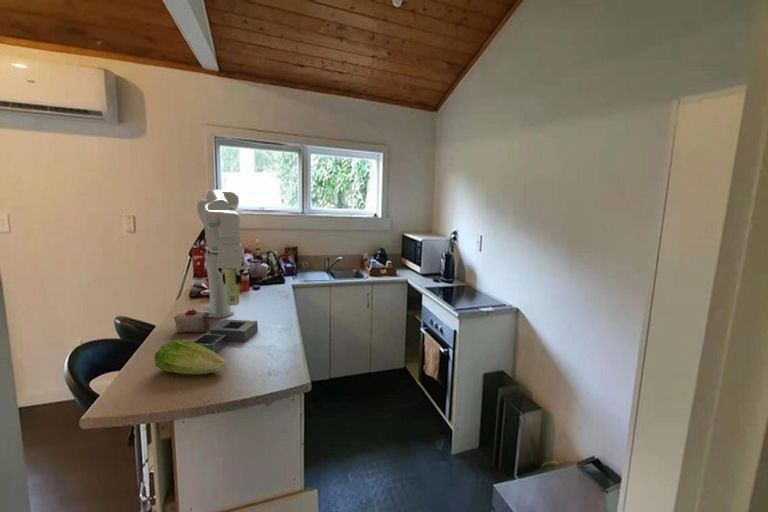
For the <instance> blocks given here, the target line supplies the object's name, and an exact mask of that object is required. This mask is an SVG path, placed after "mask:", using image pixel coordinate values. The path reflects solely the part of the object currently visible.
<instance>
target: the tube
mask: <svg viewBox="0 0 768 512" xmlns="http://www.w3.org/2000/svg"><path fill="white" fill-rule="evenodd" d="M223 264H224V263H223ZM224 273H225V282H226V296H227V305H230V306H238V305H239V304H240V284H236V275H237V272H236V269H227V268H224Z"/></svg>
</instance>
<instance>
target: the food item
mask: <svg viewBox="0 0 768 512" xmlns="http://www.w3.org/2000/svg"><path fill="white" fill-rule="evenodd" d="M208 312H209V311H203V312H201V311H197V310H195V308H192V309H189V310H187V311H186V312H182V313H181V312H180V313H176V315H175V316H174V317H173V319H174V322H175V330H176V332H177V333H176V334H185V332H192V333H207V332H208V331H209V330H210V319H209V318H210V317H209V313H208ZM206 331H207V332H206Z"/></svg>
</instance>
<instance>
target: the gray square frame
mask: <svg viewBox="0 0 768 512" xmlns="http://www.w3.org/2000/svg"><path fill="white" fill-rule="evenodd" d="M191 342H193V343H196V344H200V345H202V346H204V347H206V348H208V349H210V350H212V351H213V352H215V353H216V354H217V353H218V352H219V351H221V349H222V348H224V347H225V346H226V345H228V342H227V336H226V335H219V334H210V333H203V334H202V335H200V336H198V337H197V338H195V339H194V340H192V341H191Z"/></svg>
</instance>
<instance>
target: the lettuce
mask: <svg viewBox="0 0 768 512" xmlns="http://www.w3.org/2000/svg"><path fill="white" fill-rule="evenodd" d="M154 364H155V366H156V367H158V369H160V370H162V371H164V372H165V373H166V372H168V373H174V374H181V375H205V374H211V373H216V372H218V371H222V370H223V369H225V368H226V367H227V361H226V360H225V359H224V358H223V357H222V356H220V355H219V354H218V353H217V352H216V353H215V352H213V351H212V350H210V349H208V348H206V347H204V346H202V345H200V344H196V343H193V342H192V341H189V340H183V339H174V340H171V341H167V342H165V343H164V344H163V345H162V346H161V347H160V348H158V350H157V351H156V352H155V354H154Z"/></svg>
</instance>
